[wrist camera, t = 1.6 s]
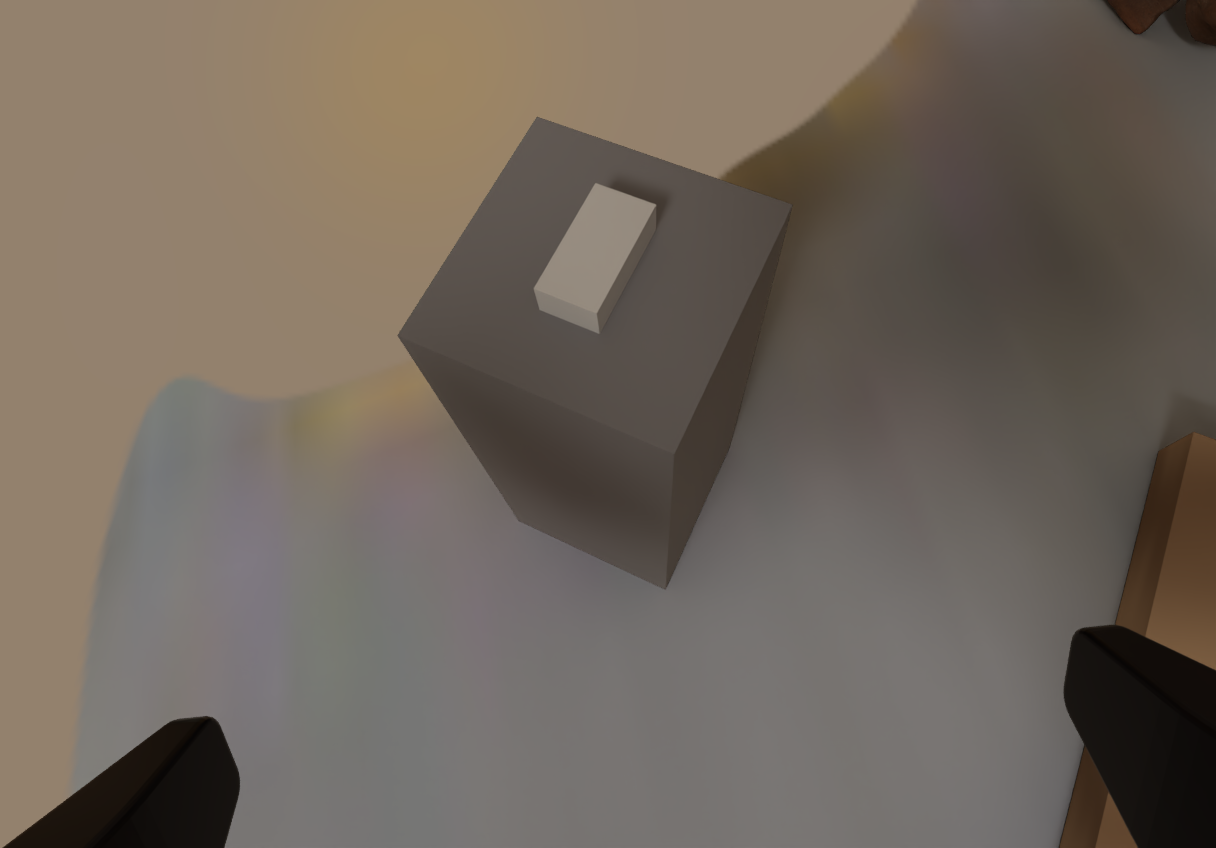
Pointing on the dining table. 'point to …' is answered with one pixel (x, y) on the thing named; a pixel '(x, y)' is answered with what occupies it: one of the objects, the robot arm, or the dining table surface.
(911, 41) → the dining table surface
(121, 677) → the dining table surface
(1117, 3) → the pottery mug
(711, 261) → the charger
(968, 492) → the dining table surface
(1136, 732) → the robot arm
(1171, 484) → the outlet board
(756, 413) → the dining table surface
